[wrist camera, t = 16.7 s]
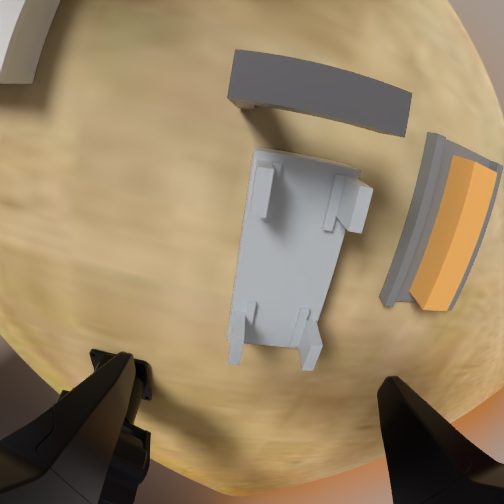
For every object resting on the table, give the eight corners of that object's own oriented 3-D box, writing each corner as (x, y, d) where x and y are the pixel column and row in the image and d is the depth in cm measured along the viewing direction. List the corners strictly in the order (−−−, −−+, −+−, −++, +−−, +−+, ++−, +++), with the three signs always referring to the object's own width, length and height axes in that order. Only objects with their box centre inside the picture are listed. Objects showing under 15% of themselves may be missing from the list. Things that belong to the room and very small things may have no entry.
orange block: (432, 293, 23) (446, 311, 20) (409, 291, 23) (423, 310, 20) (475, 165, 18) (497, 173, 15) (453, 154, 17) (475, 161, 15)
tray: (445, 302, 24) (451, 310, 22) (379, 296, 23) (384, 306, 22) (493, 162, 18) (503, 166, 16) (427, 132, 17) (437, 133, 16)
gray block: (347, 128, 17) (404, 137, 10) (237, 107, 17) (227, 98, 10) (352, 100, 17) (412, 93, 9) (242, 78, 16) (235, 49, 9)
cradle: (303, 328, 25) (313, 375, 20) (229, 320, 24) (224, 368, 19) (348, 164, 19) (379, 180, 14) (254, 146, 18) (254, 155, 13)
